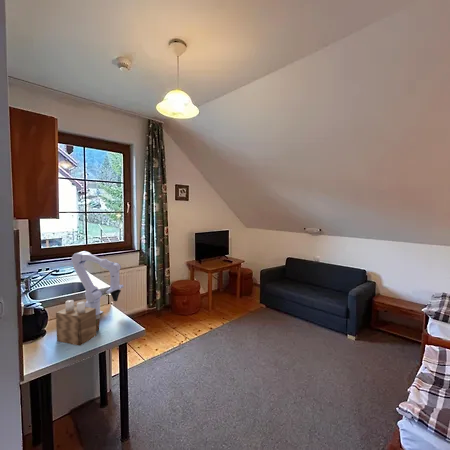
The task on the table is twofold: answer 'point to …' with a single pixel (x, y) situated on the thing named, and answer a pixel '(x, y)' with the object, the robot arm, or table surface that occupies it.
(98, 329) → the food container
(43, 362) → the table surface
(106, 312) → the table surface
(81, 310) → the tumblers
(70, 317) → the wooden bottle crate
